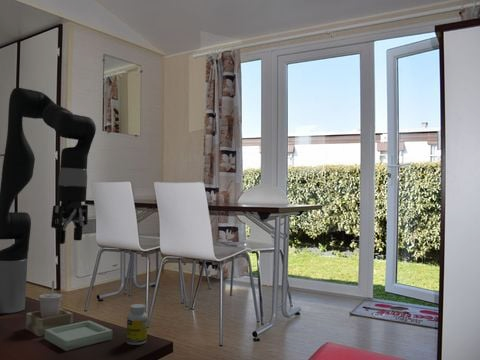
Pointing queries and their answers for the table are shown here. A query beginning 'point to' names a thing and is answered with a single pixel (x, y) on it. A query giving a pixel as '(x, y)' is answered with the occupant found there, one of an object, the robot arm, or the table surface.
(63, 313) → the holder
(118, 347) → the table surface
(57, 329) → the tray
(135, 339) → the supplement bottle
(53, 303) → the smoothie
